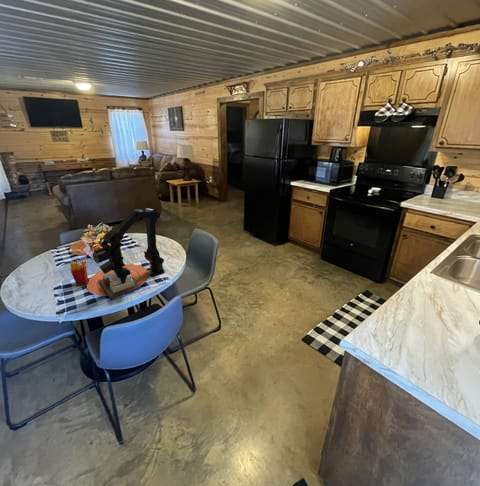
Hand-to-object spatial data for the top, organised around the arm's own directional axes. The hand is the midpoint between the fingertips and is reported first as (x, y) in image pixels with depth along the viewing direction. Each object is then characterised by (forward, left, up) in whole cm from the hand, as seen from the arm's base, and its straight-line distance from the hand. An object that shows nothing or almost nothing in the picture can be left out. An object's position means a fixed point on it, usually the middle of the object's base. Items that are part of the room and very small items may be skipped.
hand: (121, 281), depth 143 cm
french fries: (+15, -20, -5) cm, 26 cm away
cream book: (0, 0, +1) cm, 1 cm away
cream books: (0, 0, -4) cm, 4 cm away
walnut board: (0, -5, -5) cm, 7 cm away
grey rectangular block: (0, -11, -4) cm, 12 cm away
